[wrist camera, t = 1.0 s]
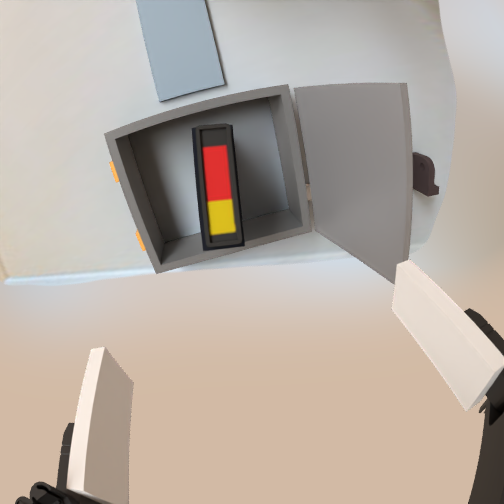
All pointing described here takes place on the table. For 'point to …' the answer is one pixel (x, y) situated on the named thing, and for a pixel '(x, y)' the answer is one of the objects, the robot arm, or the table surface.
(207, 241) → the magazine
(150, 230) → the case
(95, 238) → the table surface
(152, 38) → the mat
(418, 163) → the bracket
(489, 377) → the robot arm
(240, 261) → the table surface
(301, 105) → the lid
